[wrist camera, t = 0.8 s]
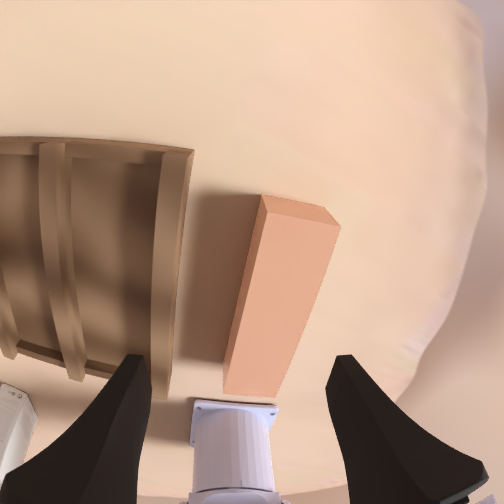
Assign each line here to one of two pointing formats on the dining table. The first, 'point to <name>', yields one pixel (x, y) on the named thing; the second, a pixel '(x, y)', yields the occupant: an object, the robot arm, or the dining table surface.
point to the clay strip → (276, 293)
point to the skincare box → (14, 428)
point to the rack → (91, 252)
